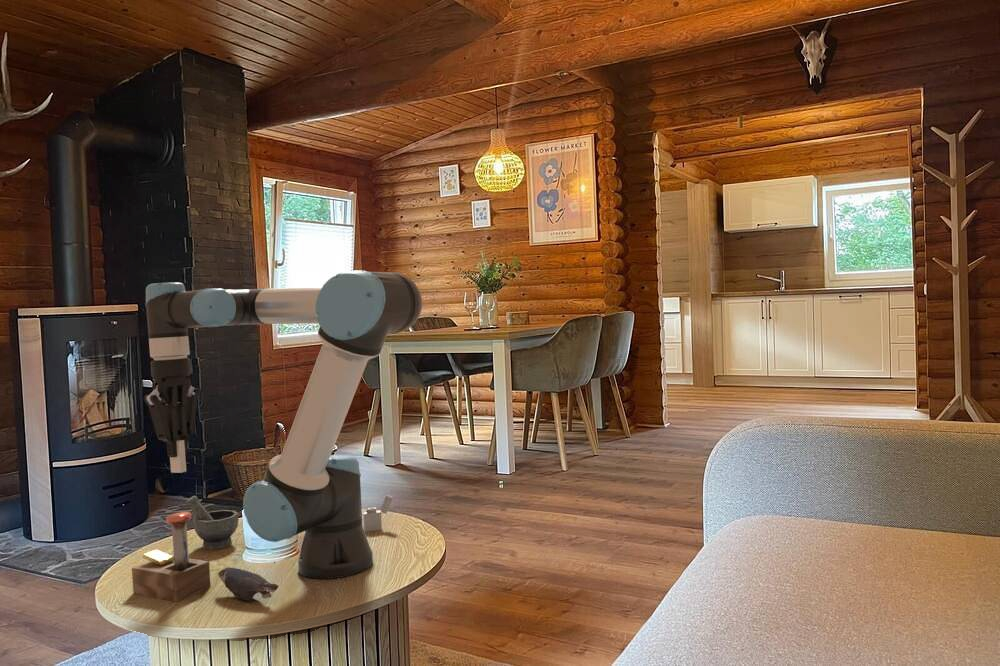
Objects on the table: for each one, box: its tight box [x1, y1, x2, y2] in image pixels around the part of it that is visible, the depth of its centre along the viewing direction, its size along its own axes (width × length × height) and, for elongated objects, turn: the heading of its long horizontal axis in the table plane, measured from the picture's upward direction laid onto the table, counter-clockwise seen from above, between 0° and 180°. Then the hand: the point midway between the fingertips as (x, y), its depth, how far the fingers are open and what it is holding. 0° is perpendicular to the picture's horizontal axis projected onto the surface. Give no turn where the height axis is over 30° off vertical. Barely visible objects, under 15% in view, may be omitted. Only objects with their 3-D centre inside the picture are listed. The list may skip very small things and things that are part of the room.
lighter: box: [362, 494, 394, 533], centre depth 184 cm, size 7×2×8 cm, turn 107°
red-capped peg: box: [165, 511, 192, 571], centre depth 147 cm, size 4×4×15 cm
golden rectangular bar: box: [142, 549, 174, 566], centre depth 150 cm, size 5×3×1 cm, turn 64°
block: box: [131, 558, 211, 602], centre depth 149 cm, size 12×8×5 cm, turn 64°
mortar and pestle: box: [185, 495, 239, 550], centre depth 177 cm, size 11×9×12 cm
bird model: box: [217, 566, 279, 602], centre depth 143 cm, size 4×17×5 cm, turn 56°
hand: (178, 471), depth 158 cm, fingers closed
